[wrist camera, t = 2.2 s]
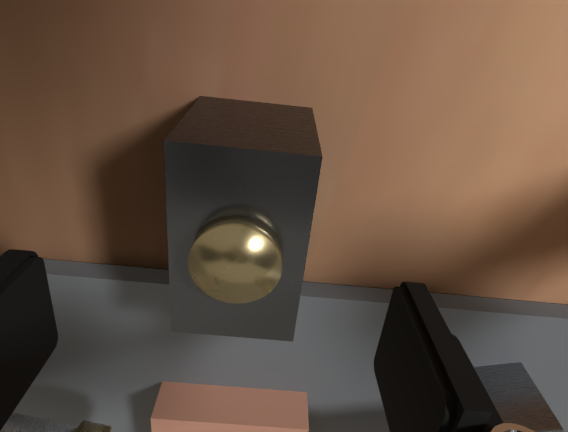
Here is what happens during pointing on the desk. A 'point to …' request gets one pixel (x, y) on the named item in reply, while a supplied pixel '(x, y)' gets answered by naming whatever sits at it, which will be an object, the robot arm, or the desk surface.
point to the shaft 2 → (517, 397)
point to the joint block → (239, 216)
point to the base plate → (257, 357)
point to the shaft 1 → (48, 425)
